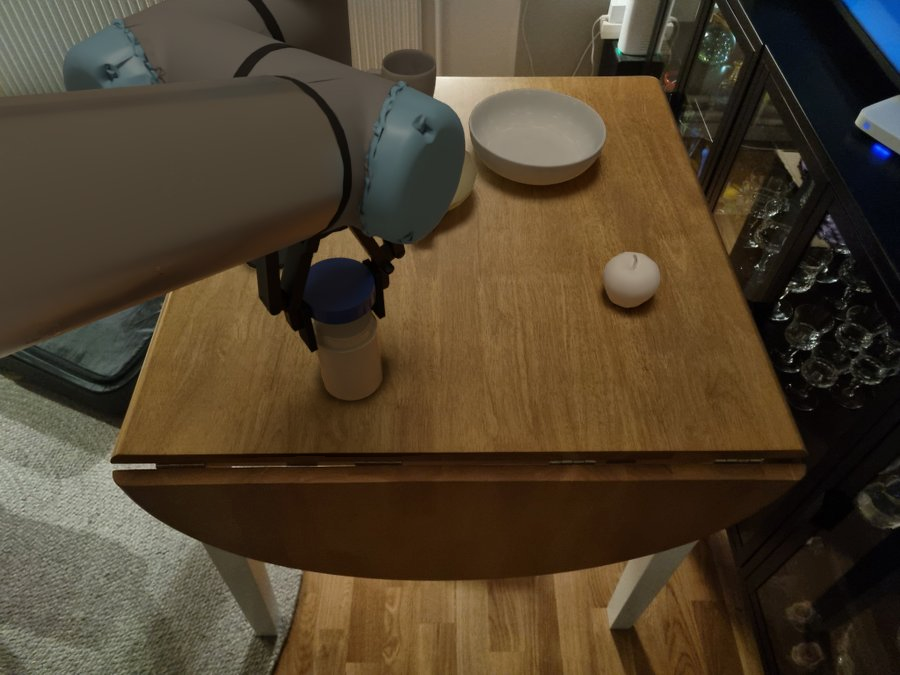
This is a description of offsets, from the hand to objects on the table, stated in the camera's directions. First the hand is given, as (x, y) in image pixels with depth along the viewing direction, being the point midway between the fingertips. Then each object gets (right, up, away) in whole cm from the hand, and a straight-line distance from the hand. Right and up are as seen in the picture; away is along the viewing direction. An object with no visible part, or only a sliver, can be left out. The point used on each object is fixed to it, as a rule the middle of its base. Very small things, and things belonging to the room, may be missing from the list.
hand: (343, 326), depth 69 cm
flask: (+7, +17, +27) cm, 33 cm away
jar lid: (0, +4, -5) cm, 6 cm away
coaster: (-13, +11, +21) cm, 27 cm away
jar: (0, -6, +7) cm, 9 cm away
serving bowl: (+25, +27, +35) cm, 50 cm away
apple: (+34, +4, +16) cm, 38 cm away
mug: (+3, +37, +42) cm, 56 cm away
